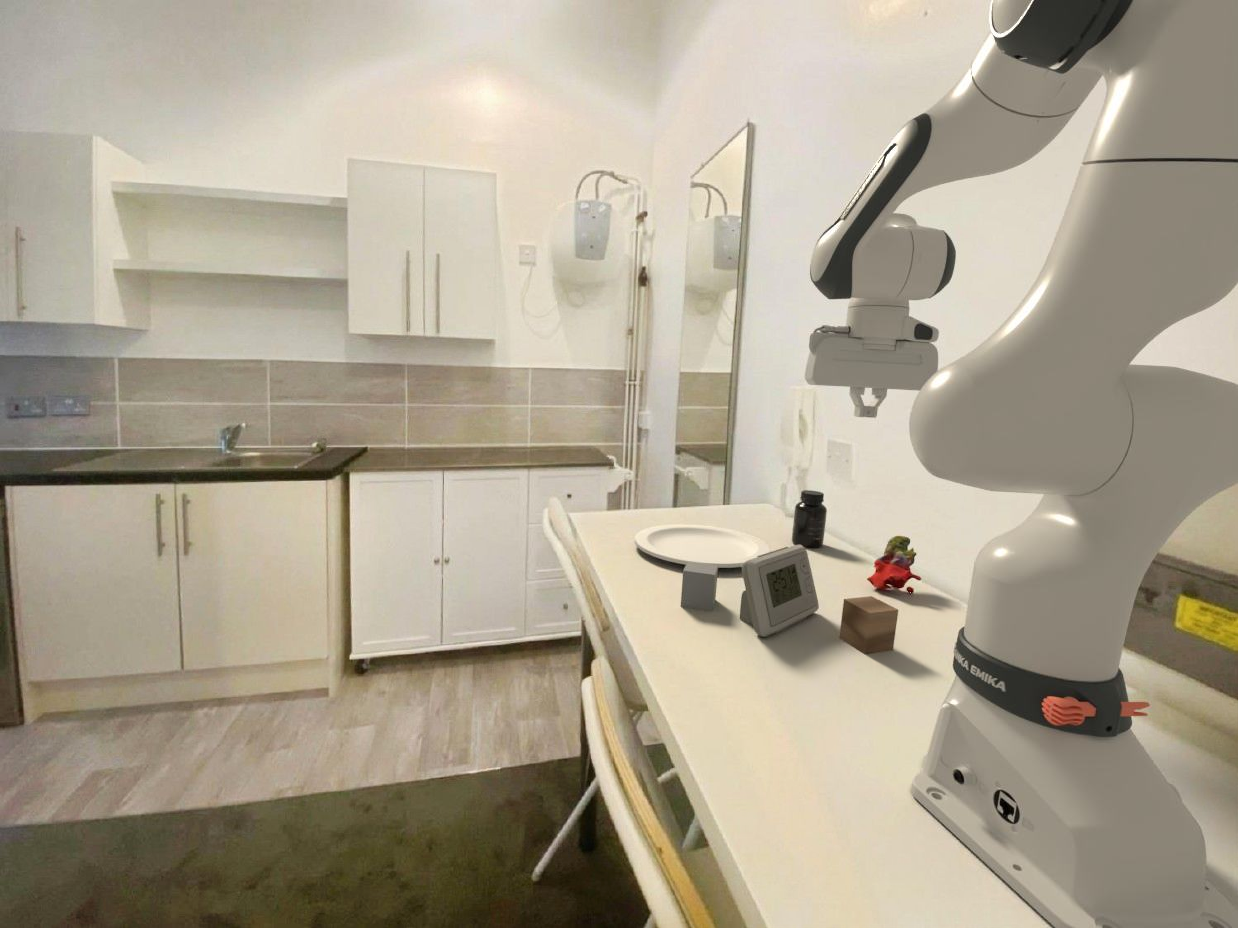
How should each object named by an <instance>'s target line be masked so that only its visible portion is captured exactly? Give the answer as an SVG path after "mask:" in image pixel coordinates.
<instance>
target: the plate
mask: <svg viewBox="0 0 1238 928" xmlns="http://www.w3.org/2000/svg"><path fill="white" fill-rule="evenodd" d="M634 544H635V545H636V547H637V548H638V549H640V551H642V552H644V553H646V554H647V555H650V556H652V557H654V558H657V559H661V560H663V561H666V562H670V563H671V562H672V563H675V564H679V565H685V566H686V564H687V562H688V561H690V562H698V563H705V564H713V565H718V569H720V568H721V569H722V568H726V569H731V568H742V565H743V563H744V562H746V561H748V560H751V559H754V558H757V556H759V555H762V554H766V553H769V552H772V551H771V547H770V545H768V544H767V543H766V542H765V541H764V540H762V539H760V538H758V537H756V536H755V535H754V536H753V535H751V534H748V533H745V532H742V531H739V530H735V529H730V528H725V527H719V526H712V525H702V524H688V523H684V524H681V523H678V524H677V523H676V524H664V525H663V524H662V525H655V526H650V527H647V528H644V529H642V530H640V531H638V532H637V533H636V534H635V536H634Z"/></svg>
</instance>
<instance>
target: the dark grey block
mask: <svg viewBox="0 0 1238 928" xmlns="http://www.w3.org/2000/svg"><path fill="white" fill-rule="evenodd" d="M682 570H683V571H682V580H681V583H682V584H681V597H680V607H681V608H689V609H693V610H694V609H695V610H700V611H708V612H713V609H714V606H715V602H716V596H717V595H716V594H717V585H718V573H719V568H718V565H713V564H705V563H698V562H690V561H688V562H687V564H686V565H685V566H684V568H683V569H682Z"/></svg>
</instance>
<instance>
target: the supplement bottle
mask: <svg viewBox="0 0 1238 928" xmlns="http://www.w3.org/2000/svg"><path fill="white" fill-rule="evenodd" d="M824 496H825V494H824V492H821V491H818V490H817V491H816V490H801V492H800V501H799V502H798V503H797V504H795V507H794V515H793V524H792V532H791V533H792V534H791V542H792V543H793V544H794V545H795V544H796V545H802V546H803V547H805V548H807V549H819V548H822V546H824V545H823V544H824V538H825V530H826V521H827V512H828V509H827V507H826V506H825V505H824V504H823V503H824V500H825V499H824V498H825V497H824Z"/></svg>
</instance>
